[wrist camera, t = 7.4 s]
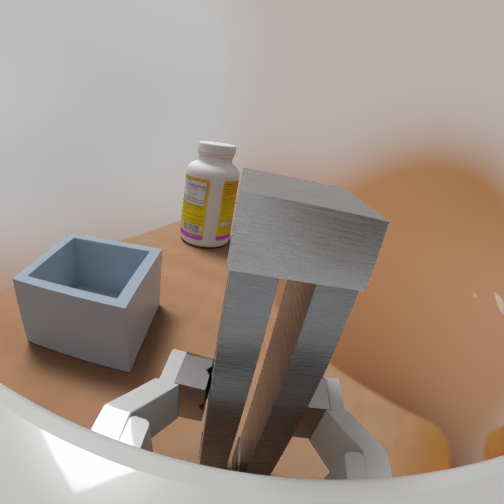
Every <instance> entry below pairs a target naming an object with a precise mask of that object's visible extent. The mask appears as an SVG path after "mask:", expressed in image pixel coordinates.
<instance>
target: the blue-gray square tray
mask: <svg viewBox="0 0 504 504" xmlns="http://www.w3.org/2000/svg"><path fill="white" fill-rule="evenodd" d="M161 261H162V249H159V248H153V247H147V246H141V245H136V244H130V243H124V242H119V241H113V240H107V239H101V238H95V237H91V236H84V235H79V234H74V233H70V235H68V236H66V237H65V238H64V239H63V240H61V241H60V242H58V243H57V244H56V245H55V246H53V247H52V248H51V249H49V250H48V251H47V252H45V253H44V254H43V255H42V256H40V257H39V258H38V259H36V260H35V261H34V262H33V263H32V264H30V265H29V266H28V267H27V268H25V269H24V270H23V271H22V272H21V273H19V274H18V275H17V276H16V277H15V278H13V282H14V287H15V292H16V296H17V301H18V305H19V309H20V313H21V317H22V321H23V325H24V329H25V332H26V336H27V339H28V341H30V342H33V343H35V344H38V345H41V346H43V347H46V348H49V349H52V350H55V351H58V352H61V353H64V354H67V355H70V356H73V357H76V358H79V359H82V360H86V361H89V362H92V363H96V364H99V365H103V366H107V367H110V368H114V369H118V370H122V371H126V372H130V371H131V369H132V366H133V364H134V361H135V359H136V357H137V354H138V352H139V350H140V347H141V345H142V343H143V340H144V338H145V336H146V333H147V331H148V329H149V326H150V324H151V322H152V320H153V317H154V315H155V313H156V311H157V309H158V306H159V303H160V279H161Z"/></svg>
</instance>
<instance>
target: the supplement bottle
mask: <svg viewBox="0 0 504 504" xmlns="http://www.w3.org/2000/svg"><path fill="white" fill-rule="evenodd" d="M235 152H236V146H233V145H229V144H224V143H217V142H209V141H200V142H199V146H198V153H199V157H198V159H197V160H195V161H193V162H191V163H190V164H189V166H188V169H187V174H186V183H185V191H184V200H183V209H182V218H181V230H180V234H181V237H182V238H183V239H184V240H185V241H186V242H188V243H190V244H192V245H195V246H200V247H219V246H222V245H224V244H226V243H227V242H228V240H229V236H230V230H231V224H232V217H233V211H234V205H235V199H236V193H237V187H238V181H239V170H238V169H237V168H236V167H235V166H234V165H233V164H232V158H234V155H235Z"/></svg>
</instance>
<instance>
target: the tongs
mask: <svg viewBox="0 0 504 504" xmlns="http://www.w3.org/2000/svg"><path fill="white" fill-rule="evenodd" d="M388 223H389V222H388V221H387V220H386V219H384V218H383V217H382V216H381V215H380V214H378V213H377V212H376V211H374V210H373V209H372V208H370V207H369V206H368V205H367V204H365V203H364V202H363V201H361V200H360V199H359V198H358V197H356V196H355V195H353V194H352V193H351V192H349V191H348V190H346V189H342V188H338V187H334V186H329V185H325V184H320V183H316V182H311V181H307V180H302V179H297V178H293V177H288V176H283V175H278V174H273V173H267V172H262V171H257V170H251V169H246V168H244V169H243V174H242V179H241V185H240V190H239V196H238V201H237V207H236V212H235V218H234V224H233V229H232V235H231V241H230V247H229V253H228V259H227V265H226V270H229V273H228V278H227V284H226V290H225V296H224V302H223V308H222V314H221V320H220V326H219V332H218V339H217V345H216V351H215V357H214V365H213V371H212V378H211V384H210V390H209V396H208V403H207V410H206V416H205V423H204V430H203V432H202V437H201V444H200V451H199V459H198V464H201V465H205V466H210V467H215V468H220V469H226V466H227V462H228V459H229V456H230V453H231V449H232V446H233V443H234V440H235V436H236V433H237V430H238V426H239V423H240V420H241V416H242V413H243V409H244V406H245V403H246V399H247V396H248V392H249V389H250V385H251V382H252V378H253V375H254V371H255V367H256V364H257V360H258V357H259V353H260V349H261V346H262V342H263V338H264V335H265V331H266V327H267V324H268V320H269V316H270V312H271V308H272V305H273V301H274V297H275V293H276V289H277V285H278V281H279V278H280V279H286V280H287V282H286V286H285V290H284V293H283V297H282V301H281V304H280V308H279V311H278V315H277V319H276V322H275V326H274V329H273V333H272V336H271V340H270V343H269V347H268V350H267V353H266V357H265V360H264V364H263V367H262V370H261V374H260V377H259V380H258V384H257V387H256V390H255V393H254V397H253V400H252V403H251V406H250V409H249V413H248V416H247V419H246V422H245V425H244V428H243V431H242V434H241V437H239V439H238V442H237V445H236V448H235V451H234V454H233V457H232V471H238V472H244V473H251V474H259V475H267V476H270V474H271V472H272V471H273V469H274V467H275V466H276V464H277V462H278V461H279V459H280V457H281V455H282V454H283V452H284V450H285V448H286V447H287V445H288V443H289V441H290V439H291V438H292V436H293V434H294V432H295V430H296V428H297V427H298V425H299V423H300V421H301V419H302V417H303V415H304V413H305V411H306V409H307V407H308V405H309V403H310V401H311V399H312V397H313V395H314V393H315V391H316V389H317V387H318V385H319V383H320V381H321V379H322V377H323V375H324V372H325V370H326V368H327V366H328V364H329V362H330V359H331V357H332V355H333V353H334V350H335V348H336V346H337V343H338V341H339V339H340V336H341V334H342V332H343V329H344V327H345V324H346V322H347V319H348V317H349V315H350V312H351V309H352V307H353V305H354V302H355V299H356V297H357V294H358V291H365V290H366V287H367V284H368V282H369V279H370V277H371V274H372V271H373V268H374V266H375V263H376V260H377V257H378V254H379V251H380V248H381V245H382V242H383V239H384V236H385V233H386V230H387V227H388Z"/></svg>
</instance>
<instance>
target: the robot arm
mask: <svg viewBox="0 0 504 504" xmlns="http://www.w3.org/2000/svg"><path fill="white" fill-rule="evenodd" d="M213 365H214V359H212V358H208V357H204V356H200V355H196V354H193V353H189V352H184V351H180V350H177V349H173V350H172V352H171V354H170V356H169V358H168V360H167V363H166V365H165V367H164V369H163V372H162V374H161V376H160V378H159V379H157V378H155V379H153V380H151V381H149V382H147V383H145V384H143V385H141V386H140V387H138V388H136V389H134V390H132V391H130V392H128V393H126V394H124V395H122V396H120V397H118V398H116V399H114V400H113V401H111V402H109V403H107V404H105V405H104V407H103V409H102V411H101V412H100V414H99V416H98V418H97V420H96V422H95V423H94V425H93V427H92V429H91V430H90V429H87V428H85V427H83V426H80V425H78V424H76V423H74V422H71V421H69V420H67V419H65V418H63V417H61V416H59V415H57V414H55V413H53V412H51V411H49V410H47V409H45V408H43V407H41V406H39V405H37V404H35V403H34V402H32V401H30V400H28V399H26V398H25V397H23V396H21V395H19V394H18V393H16V392H14V391H13V390H11V389H9V388H8V387H6V386H5V385H3V384H1V383H0V504H504V455H503V456H500V457H496V458H493V459H489V460H486V461H482V462H478V463H474V464H470V465H466V466H462V467H457V468H452V469H446V470H441V471H435V472H429V473H422V474H415V475H407V476H398V477H392V474H391V469H390V464H389V459H388V455H387V451H386V450H385V449H384V448H383V447H382V446H381V445H380V444H379V443H378V441H377V440H376V439H375V438H374V437H373V436H372V435H371V434H370V433H369V432H368V431H367V430H366V429H365V428H364V427H363V426H362V425H361V424H360V423H359V422H358V421H357V420H356V419H355V418H354V417H353V416H352V415H351V414H350V413H349V412H348V411H345V410H344V404H343V399H342V393H341V388H340V382H339V380H338V378H329V377H322V379H321V381H320V383H319V385H318V387H317V389H316V391H315V393H314V395H313V397H312V399H311V401H310V403H309V405H308V407H307V409H306V411H305V413H304V415H303V417H302V419H301V421H300V423H299V425H298V427H297V428H296V430H295V432H294V434H293V436H292V437H300V438H309V440H310V442H311V444H312V445H313V447H314V448H315V450H316V451H317V453H318V454H319V456H320V457H321V459H322V460H323V462H324V463H325V465H326V466H327V468H328V469H329V471H330V473H329V474H328V475H327V476H326V477H325V478H324V479H303V478H288V477H277V476H267V475H259V474H251V473H244V472H238V471H232V470H226V469H220V468H215V467H210V466H205V465H201V464H196V463H192V462H188V461H183V460H179V459H176V458H172V457H168V456H164V455H161V454H157V453H154V452H153V449H152V441H151V438H152V437H153V436H155V435H156V434H157V433H159V432H160V431H161V430H163V429H164V428H165V427H166V426H168V425H169V424H170V423H172V422H173V421H174V420H175V419H177V418H178V416H179V417H184V418H188V419H193V420H197V421H202V417H203V413H204V410H205V404H206V399H207V398H208V394H209V390H210V384H211V378H212V371H213Z"/></svg>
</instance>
